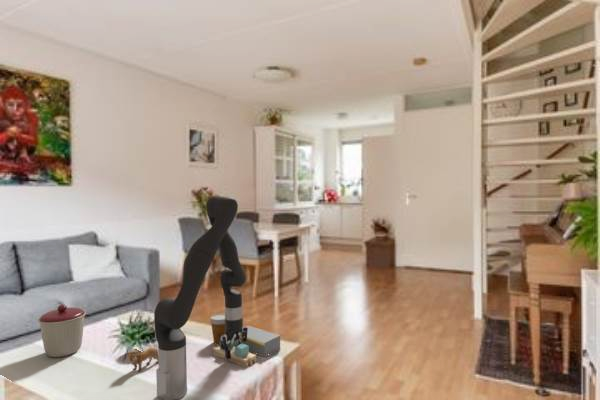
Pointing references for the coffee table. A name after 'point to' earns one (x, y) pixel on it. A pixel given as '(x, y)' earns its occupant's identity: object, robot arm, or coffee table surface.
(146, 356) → the lion figurine
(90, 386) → the coffee table surface
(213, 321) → the disposable coffee cup
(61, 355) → the canister
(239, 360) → the pallet
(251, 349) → the block
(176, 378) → the robot arm
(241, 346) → the teal cube
